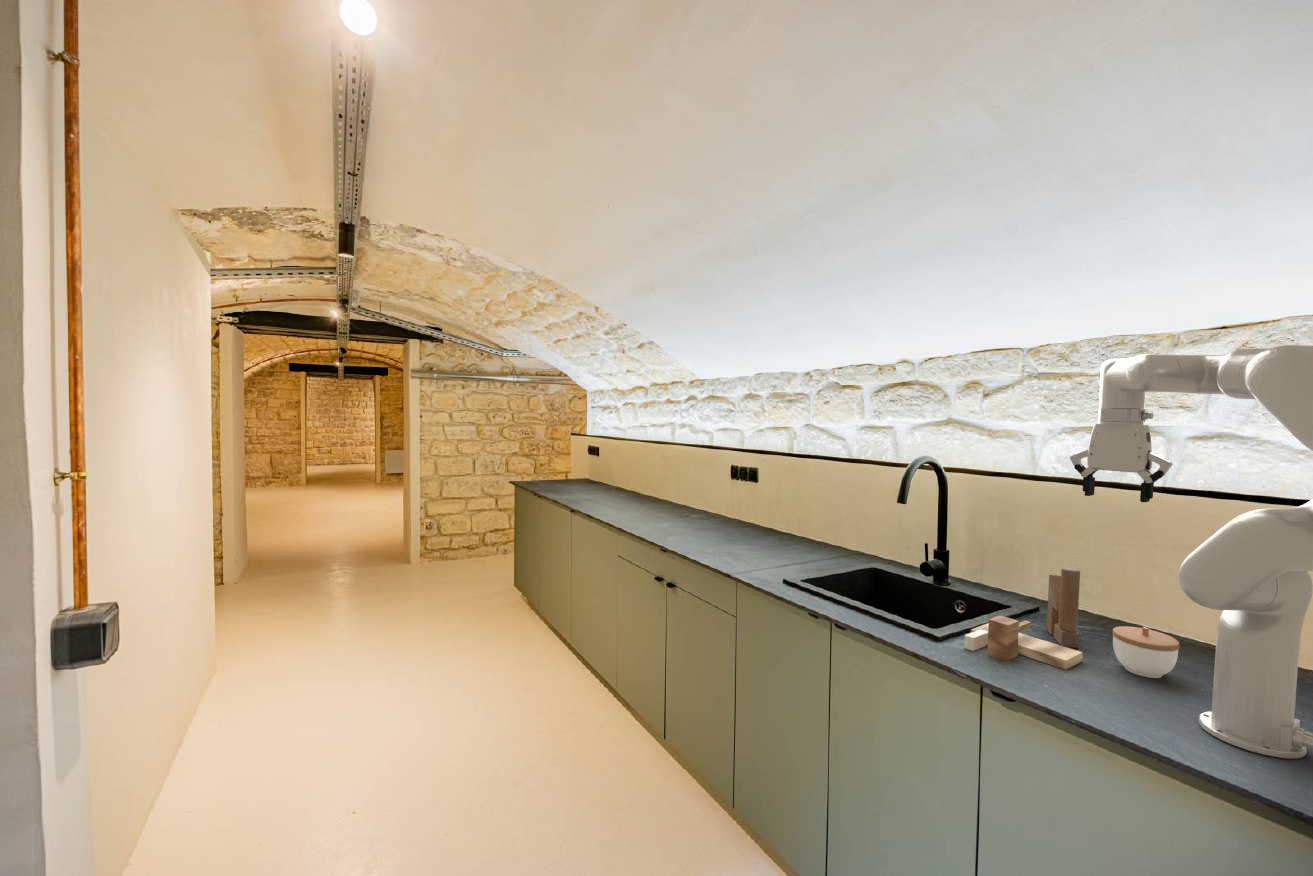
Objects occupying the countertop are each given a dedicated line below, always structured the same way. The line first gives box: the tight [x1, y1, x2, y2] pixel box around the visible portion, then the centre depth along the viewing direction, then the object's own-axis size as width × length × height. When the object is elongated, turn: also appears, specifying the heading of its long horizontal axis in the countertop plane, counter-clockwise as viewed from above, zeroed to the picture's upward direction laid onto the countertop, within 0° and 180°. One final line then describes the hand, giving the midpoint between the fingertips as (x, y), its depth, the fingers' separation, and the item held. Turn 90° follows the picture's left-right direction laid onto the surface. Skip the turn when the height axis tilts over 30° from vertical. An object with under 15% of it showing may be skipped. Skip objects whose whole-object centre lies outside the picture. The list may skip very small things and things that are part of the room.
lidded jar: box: [1112, 625, 1180, 679], centre depth 121 cm, size 11×11×9 cm
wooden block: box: [1046, 567, 1081, 649], centre depth 138 cm, size 4×11×18 cm, turn 162°
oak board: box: [970, 622, 1083, 670], centre depth 132 cm, size 20×8×2 cm, turn 33°
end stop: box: [963, 629, 988, 652], centre depth 133 cm, size 2×7×3 cm, turn 123°
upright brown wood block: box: [986, 615, 1032, 662], centre depth 130 cm, size 4×14×8 cm, turn 123°
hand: (1116, 498), depth 121 cm, fingers open, 9 cm apart
